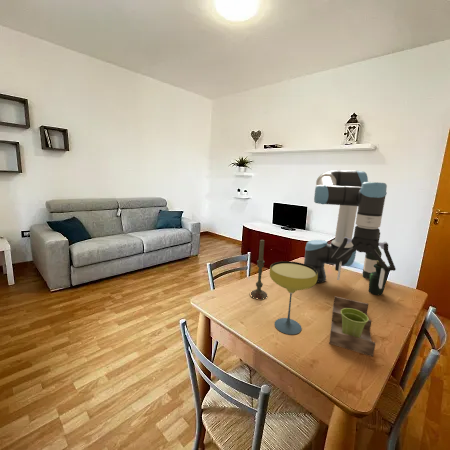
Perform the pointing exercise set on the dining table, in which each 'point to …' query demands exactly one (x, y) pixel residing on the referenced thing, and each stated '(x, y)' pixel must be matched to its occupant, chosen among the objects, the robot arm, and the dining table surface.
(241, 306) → the dining table surface
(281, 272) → the cocktail glass
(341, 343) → the rack
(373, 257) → the wine bottle
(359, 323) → the plant pot
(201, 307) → the dining table surface
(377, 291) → the potion bottle
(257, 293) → the candlestick holder
